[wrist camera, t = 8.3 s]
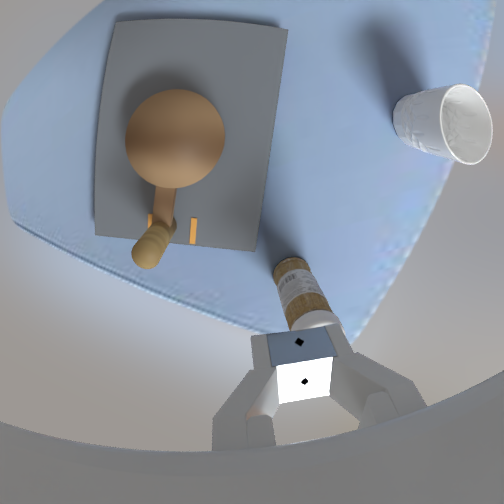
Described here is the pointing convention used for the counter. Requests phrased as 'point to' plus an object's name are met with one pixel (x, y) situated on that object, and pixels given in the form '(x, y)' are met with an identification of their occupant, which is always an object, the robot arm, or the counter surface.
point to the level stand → (227, 105)
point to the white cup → (446, 123)
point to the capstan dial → (171, 157)
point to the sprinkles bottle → (302, 296)
